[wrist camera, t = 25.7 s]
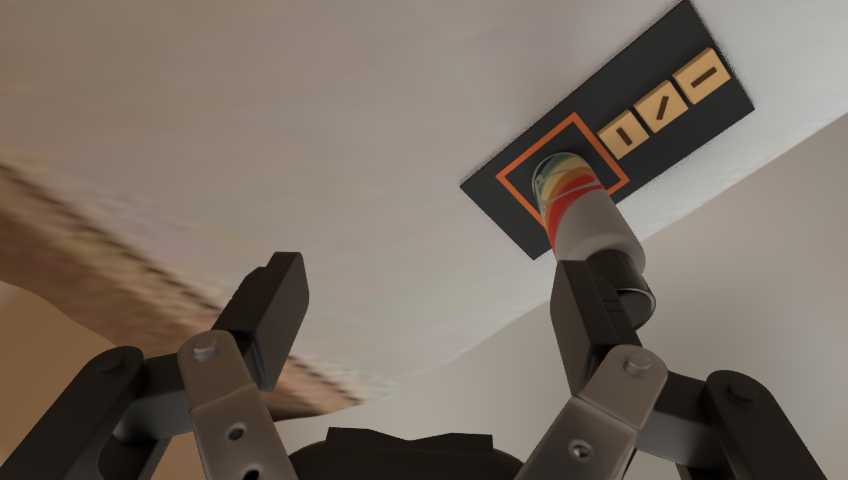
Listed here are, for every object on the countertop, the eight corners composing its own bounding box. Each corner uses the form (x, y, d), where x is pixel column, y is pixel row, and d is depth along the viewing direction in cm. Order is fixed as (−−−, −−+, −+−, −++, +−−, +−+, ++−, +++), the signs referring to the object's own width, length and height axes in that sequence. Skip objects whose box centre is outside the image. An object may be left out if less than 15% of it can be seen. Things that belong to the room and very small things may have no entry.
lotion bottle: (539, 146, 42) (594, 272, 25) (598, 154, 42) (693, 284, 25) (524, 200, 45) (566, 344, 28) (580, 207, 45) (654, 355, 28)
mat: (532, 258, 50) (534, 265, 48) (459, 185, 45) (459, 191, 44) (752, 108, 40) (761, 112, 39) (685, -2, 36) (692, -1, 34)
